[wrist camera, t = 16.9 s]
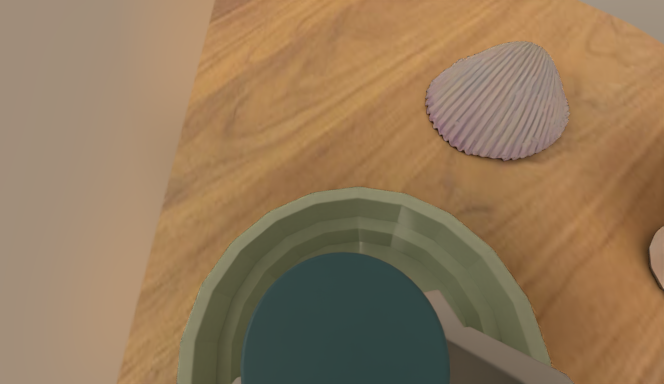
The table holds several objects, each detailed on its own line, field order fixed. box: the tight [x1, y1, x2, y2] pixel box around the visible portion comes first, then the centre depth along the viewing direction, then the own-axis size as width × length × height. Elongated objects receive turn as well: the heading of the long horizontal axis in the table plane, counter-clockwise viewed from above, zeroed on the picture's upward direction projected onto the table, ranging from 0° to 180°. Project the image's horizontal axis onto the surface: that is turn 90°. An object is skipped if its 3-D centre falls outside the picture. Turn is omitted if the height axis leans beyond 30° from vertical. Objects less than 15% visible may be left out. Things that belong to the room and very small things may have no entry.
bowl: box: [176, 187, 551, 384], centre depth 16 cm, size 15×15×6 cm
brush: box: [240, 252, 451, 384], centre depth 10 cm, size 5×5×14 cm
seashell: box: [425, 41, 570, 161], centre depth 24 cm, size 10×6×10 cm
